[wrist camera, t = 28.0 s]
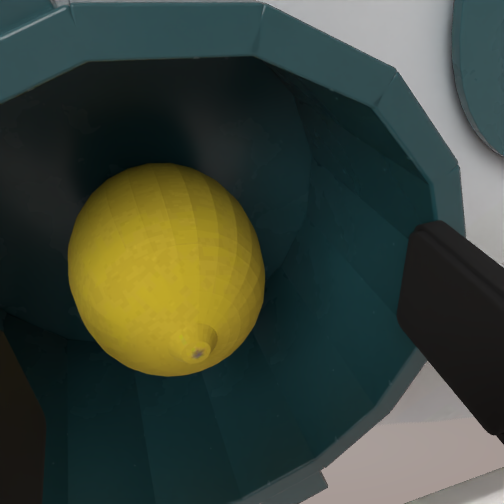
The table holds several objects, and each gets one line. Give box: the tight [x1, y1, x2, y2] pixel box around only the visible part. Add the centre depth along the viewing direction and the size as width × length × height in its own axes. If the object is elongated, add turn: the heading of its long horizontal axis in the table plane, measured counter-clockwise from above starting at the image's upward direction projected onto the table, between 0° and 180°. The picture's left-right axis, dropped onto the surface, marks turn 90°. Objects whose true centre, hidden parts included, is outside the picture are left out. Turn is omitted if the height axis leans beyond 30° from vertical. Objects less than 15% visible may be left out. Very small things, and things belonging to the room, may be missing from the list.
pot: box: [0, 0, 466, 504], centre depth 14 cm, size 15×20×8 cm
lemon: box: [68, 163, 265, 377], centre depth 14 cm, size 6×6×8 cm
